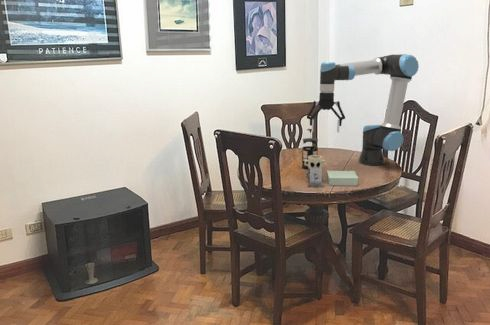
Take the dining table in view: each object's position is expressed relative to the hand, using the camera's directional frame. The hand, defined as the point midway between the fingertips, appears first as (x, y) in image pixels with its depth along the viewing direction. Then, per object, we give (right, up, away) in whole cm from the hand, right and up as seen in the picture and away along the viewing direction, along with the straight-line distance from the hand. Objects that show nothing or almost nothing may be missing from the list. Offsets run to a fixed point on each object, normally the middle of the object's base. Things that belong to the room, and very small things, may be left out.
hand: (325, 132), depth 243 cm
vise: (-6, -26, -3) cm, 27 cm away
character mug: (-6, -26, -3) cm, 27 cm away
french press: (-5, -19, +24) cm, 31 cm away
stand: (+7, -26, -6) cm, 28 cm away
